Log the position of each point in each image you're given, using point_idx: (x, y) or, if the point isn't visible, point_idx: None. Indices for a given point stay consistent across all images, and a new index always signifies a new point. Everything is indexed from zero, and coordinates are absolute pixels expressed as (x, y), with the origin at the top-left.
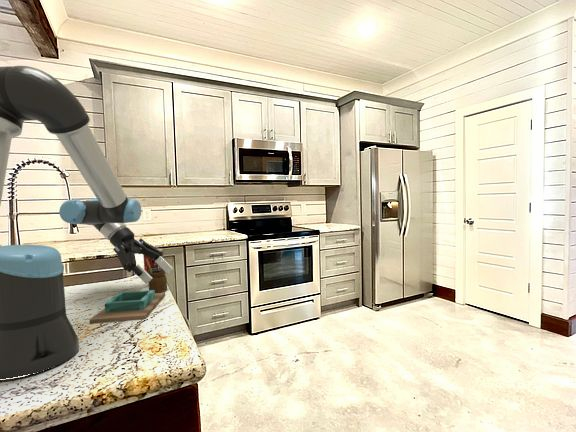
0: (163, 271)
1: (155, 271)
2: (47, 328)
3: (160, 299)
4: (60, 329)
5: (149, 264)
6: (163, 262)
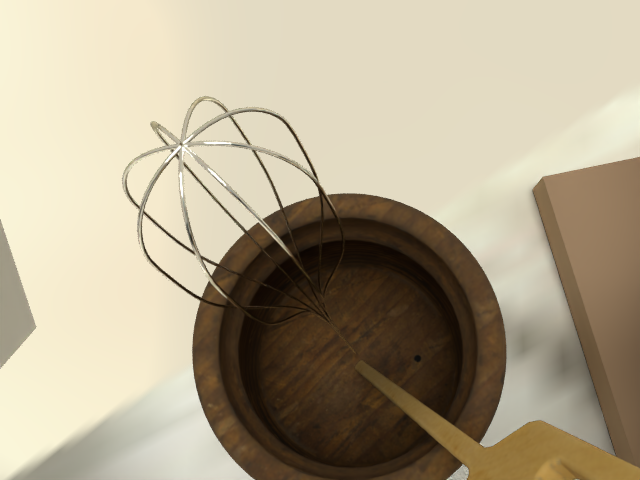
0: (354, 197)
1: (242, 434)
2: None
3: None
4: None
5: (587, 448)
6: (288, 122)
